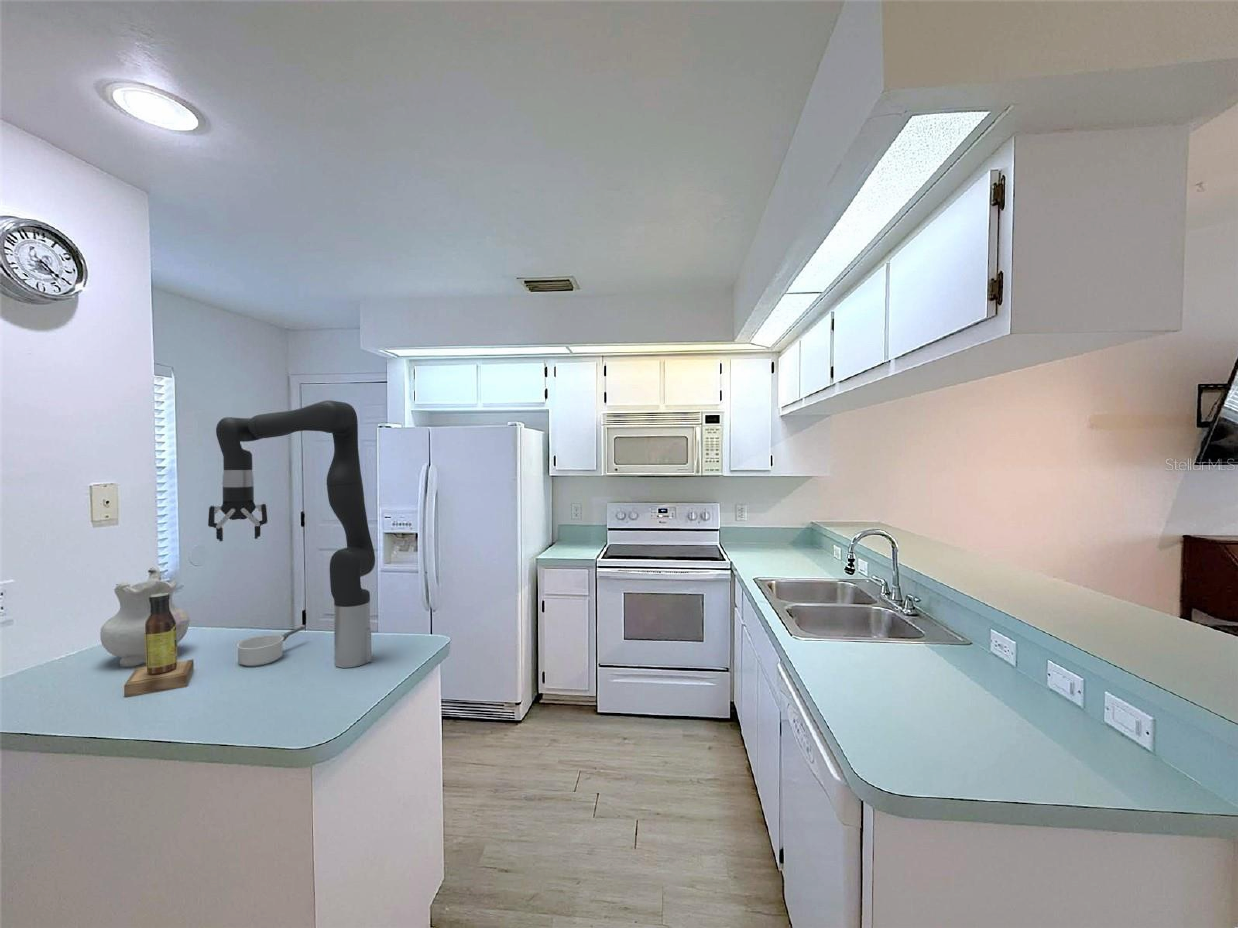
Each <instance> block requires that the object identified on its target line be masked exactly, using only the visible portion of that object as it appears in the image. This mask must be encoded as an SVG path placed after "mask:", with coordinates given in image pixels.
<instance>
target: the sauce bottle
mask: <svg viewBox="0 0 1238 928" xmlns="http://www.w3.org/2000/svg"><path fill="white" fill-rule="evenodd" d="M169 599H170V595H169V593H160V594H154V595H151V596H149V601H150V607H151V610H150V612H151V614H150V616H149V617H148V619H147V620H146V623H145V649H146V663H145V667H146V668H147V672H148V673H149V674H161V673H165V672H168V671H171V670H173V669H175V668H176V666H177V662H178V643H177V634H176V621H175V619H174V617H173V615H172V613H171V611H170V608H169Z"/></svg>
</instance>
